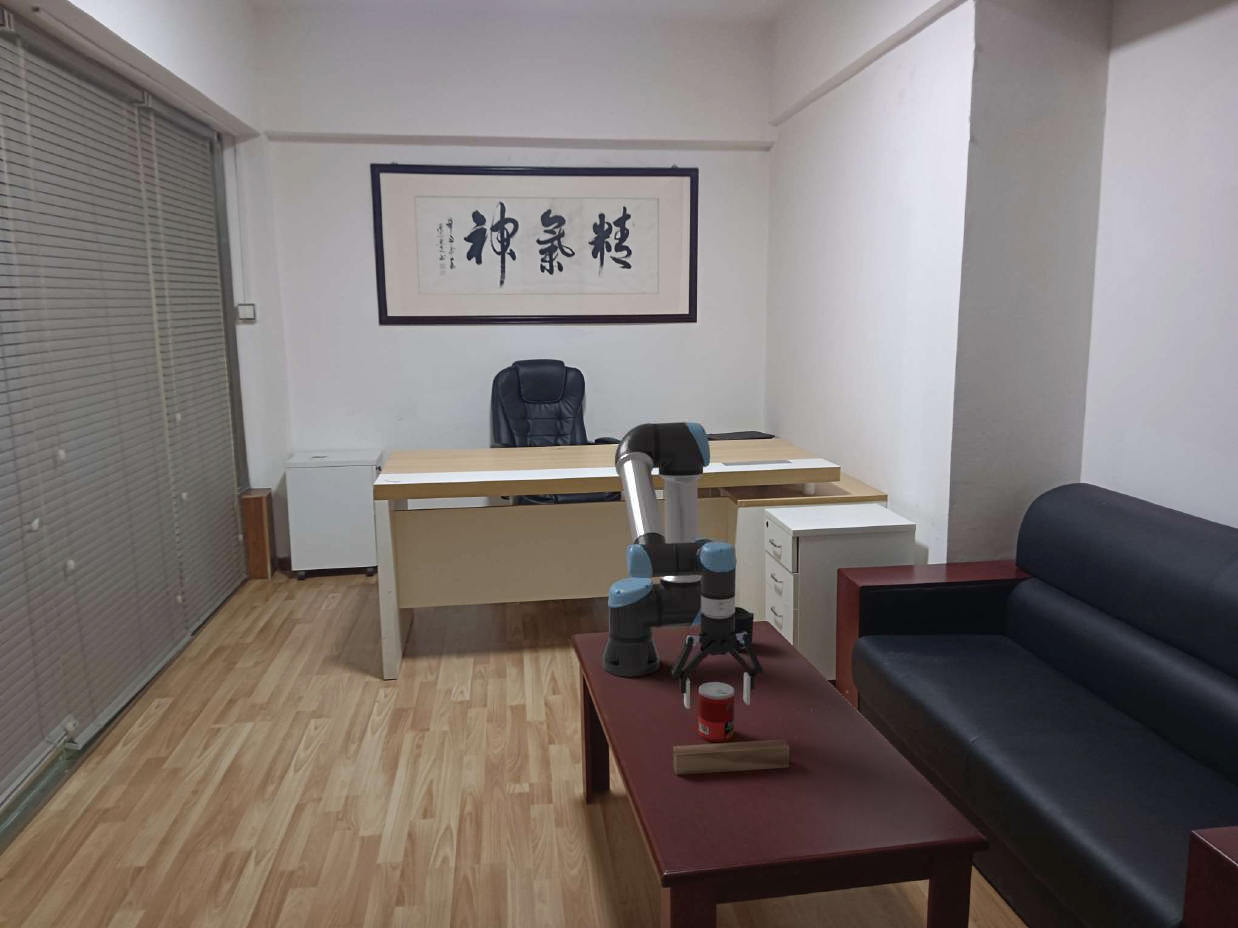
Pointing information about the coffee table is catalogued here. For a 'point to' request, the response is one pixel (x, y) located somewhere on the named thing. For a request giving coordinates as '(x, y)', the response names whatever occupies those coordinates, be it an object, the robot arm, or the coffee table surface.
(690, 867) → the coffee table surface
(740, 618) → the pen holder
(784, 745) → the board
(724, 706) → the canned food
